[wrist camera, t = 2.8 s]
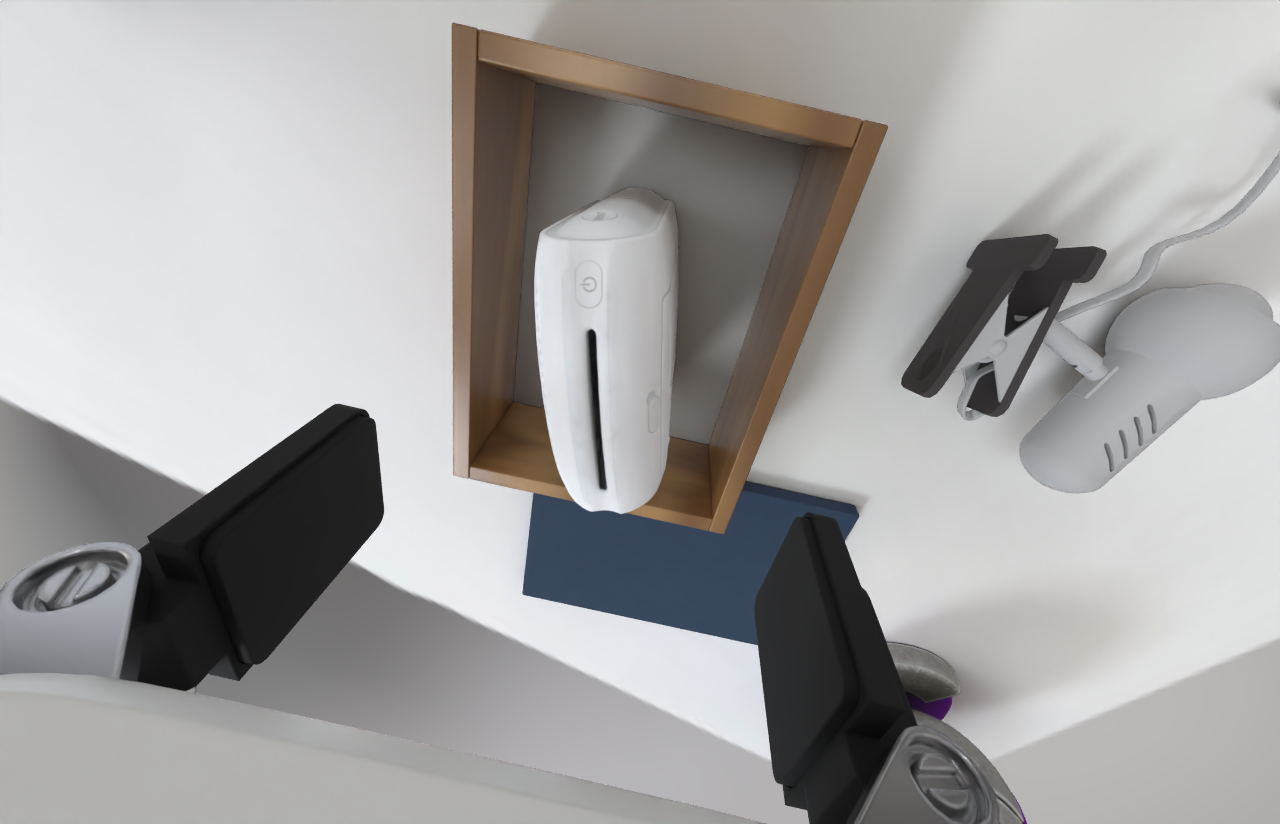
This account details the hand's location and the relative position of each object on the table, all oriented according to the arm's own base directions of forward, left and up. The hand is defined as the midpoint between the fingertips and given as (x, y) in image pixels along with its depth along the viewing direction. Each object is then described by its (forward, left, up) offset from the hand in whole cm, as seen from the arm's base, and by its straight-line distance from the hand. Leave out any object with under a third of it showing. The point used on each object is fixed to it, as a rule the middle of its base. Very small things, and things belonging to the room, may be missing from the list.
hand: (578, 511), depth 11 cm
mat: (+6, -17, -16) cm, 24 cm away
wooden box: (0, 0, -16) cm, 16 cm away
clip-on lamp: (+21, +6, -16) cm, 27 cm away
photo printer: (0, 0, -16) cm, 16 cm away
